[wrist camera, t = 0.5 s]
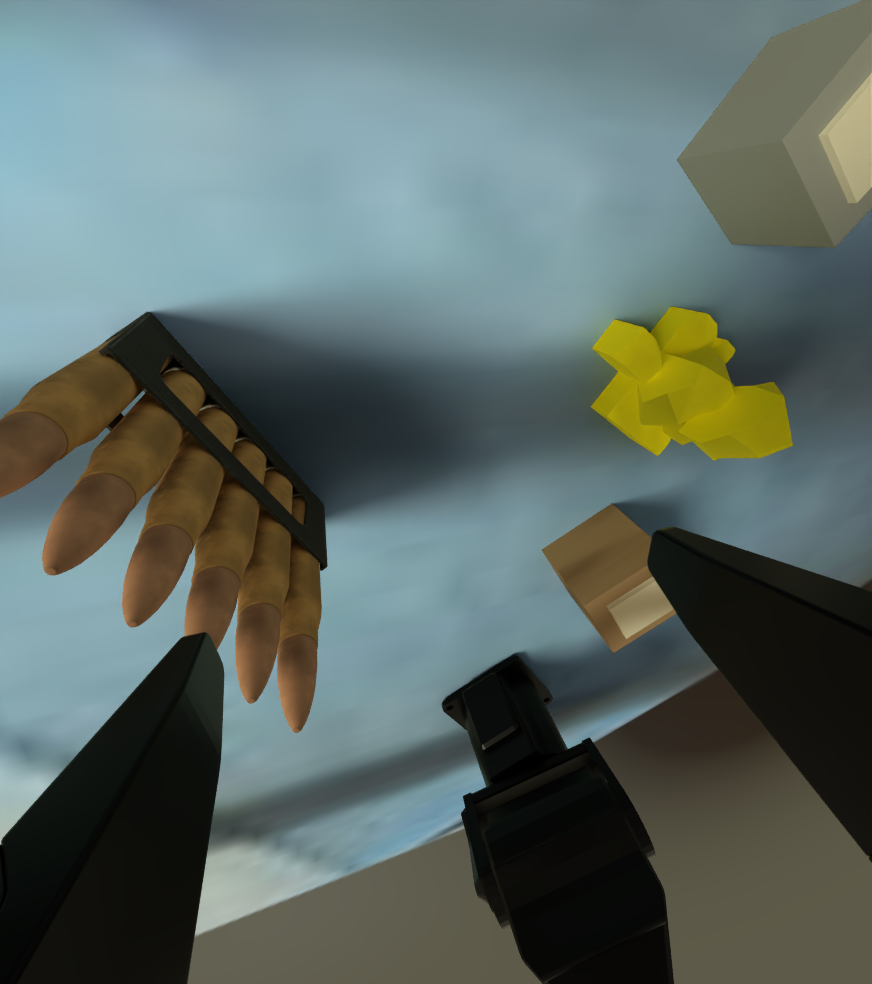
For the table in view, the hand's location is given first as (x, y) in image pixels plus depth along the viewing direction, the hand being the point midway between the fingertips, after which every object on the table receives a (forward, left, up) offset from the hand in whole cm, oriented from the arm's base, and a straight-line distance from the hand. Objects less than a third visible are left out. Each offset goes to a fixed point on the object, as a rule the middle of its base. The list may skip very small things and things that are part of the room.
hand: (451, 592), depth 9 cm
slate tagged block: (-1, -19, -14) cm, 24 cm away
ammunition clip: (+2, +6, -14) cm, 15 cm away
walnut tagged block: (-17, -5, -14) cm, 22 cm away
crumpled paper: (-8, -12, -14) cm, 20 cm away
